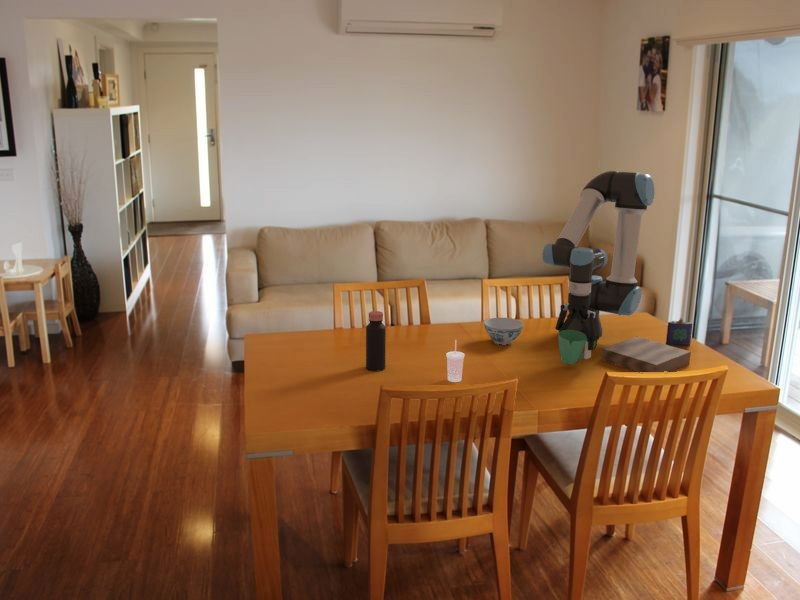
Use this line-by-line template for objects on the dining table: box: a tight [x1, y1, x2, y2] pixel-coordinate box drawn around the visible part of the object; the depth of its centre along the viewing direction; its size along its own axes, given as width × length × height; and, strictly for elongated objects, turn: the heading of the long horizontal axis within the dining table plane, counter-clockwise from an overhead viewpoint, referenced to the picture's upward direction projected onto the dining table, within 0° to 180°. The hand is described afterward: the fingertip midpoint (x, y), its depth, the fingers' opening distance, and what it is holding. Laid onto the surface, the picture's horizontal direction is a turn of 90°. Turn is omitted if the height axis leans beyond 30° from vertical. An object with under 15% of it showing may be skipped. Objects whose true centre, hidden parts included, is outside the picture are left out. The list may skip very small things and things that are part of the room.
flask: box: [665, 317, 693, 347], centre depth 292 cm, size 9×3×11 cm, turn 87°
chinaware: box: [483, 317, 524, 346], centre depth 293 cm, size 15×15×8 cm
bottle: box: [365, 310, 387, 372], centre depth 263 cm, size 7×7×20 cm
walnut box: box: [600, 336, 692, 373], centre depth 274 cm, size 22×22×5 cm
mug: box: [557, 330, 599, 365], centre depth 267 cm, size 15×10×10 cm
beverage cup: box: [445, 339, 466, 383], centre depth 254 cm, size 6×6×14 cm
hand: (575, 354), depth 268 cm, fingers closed on mug, 10 cm apart
